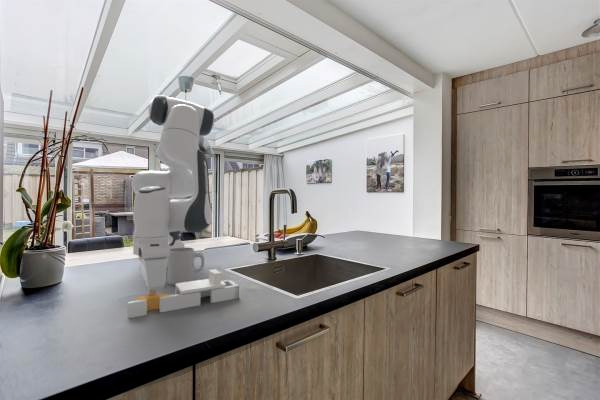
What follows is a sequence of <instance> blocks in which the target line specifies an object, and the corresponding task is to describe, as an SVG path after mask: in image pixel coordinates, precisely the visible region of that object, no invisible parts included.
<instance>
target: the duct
mask: <svg viewBox="0 0 600 400" xmlns="http://www.w3.org/2000/svg"><path fill="white" fill-rule="evenodd" d="M222 281H223V282H224V283H225V284H226V287H223V288H217V289H210V290H204V291H198V292H191V293H185V294H181V293H180V292H179V291H178V289H177V288H176V287H175V288H174V289H175V292H174V293H175V294H169V296H163V297H159V313H165V312H170V311H176V310H182V309H187V308H192V307H197V306H199V307H200V306H201V298H206V297H210V298H209V299H210V301H209V302H210V304H215V303H219V302H220V303H221V302H224V301H231V300H235V299H240V285H239V284H238V283H236V282H235V281H233V279H226V280H225V279H224V280H222ZM147 314H148V310H147V300H146V299H144V300H137V301H135V300H132V301H128V302H127V319H133V318H139V317H144V316H147Z"/></svg>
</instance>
